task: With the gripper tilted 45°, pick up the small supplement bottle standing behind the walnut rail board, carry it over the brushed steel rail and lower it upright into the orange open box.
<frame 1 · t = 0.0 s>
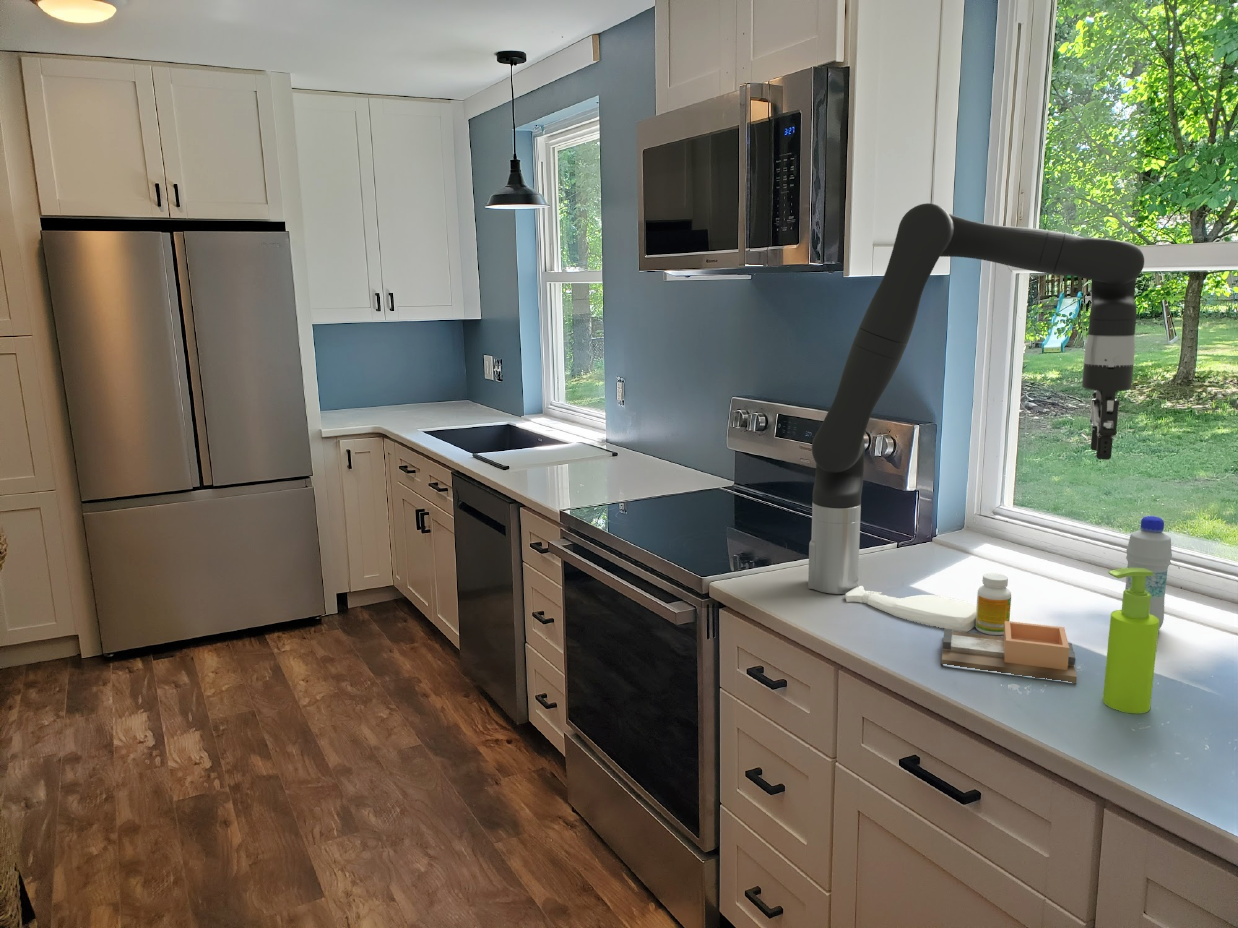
hand: (1100, 454, 157), 29 cm above the countertop, tool pointing down, fingers open, 8 cm apart
bottle: (1141, 629, 155), on the countertop
soap dispenser: (1122, 705, 127), on the countertop
rail board: (1005, 658, 143), on the countertop
supplement bottle: (991, 631, 155), on the countertop
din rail: (1006, 647, 143), on the rail board, point 1 cm above the countertop
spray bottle: (909, 613, 166), on the countertop
orange open box: (1034, 644, 141), on the rail board, point 3 cm above the countertop
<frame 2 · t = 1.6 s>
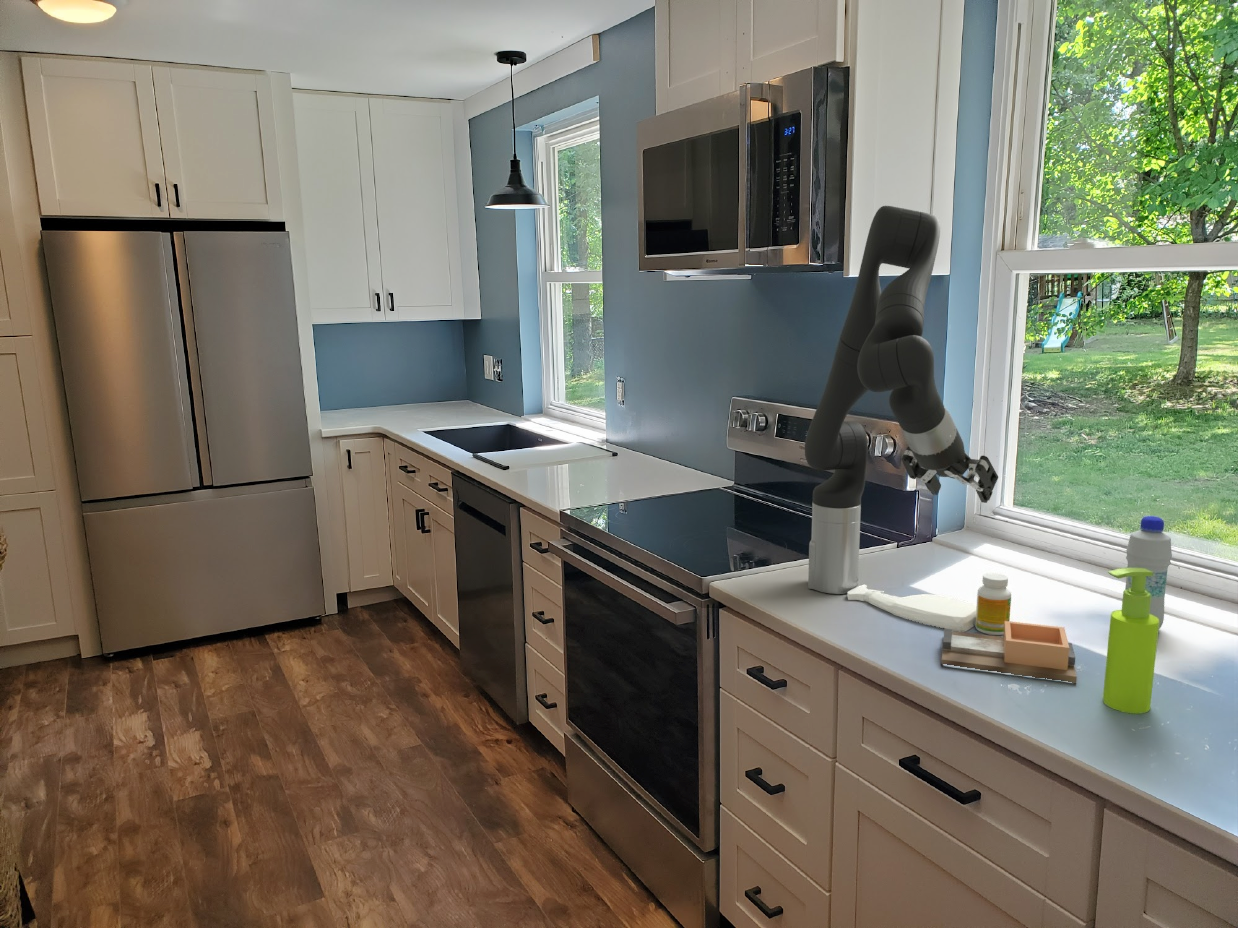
hand: (961, 494, 149), 25 cm above the countertop, tool tilted 45°, fingers open, 8 cm apart
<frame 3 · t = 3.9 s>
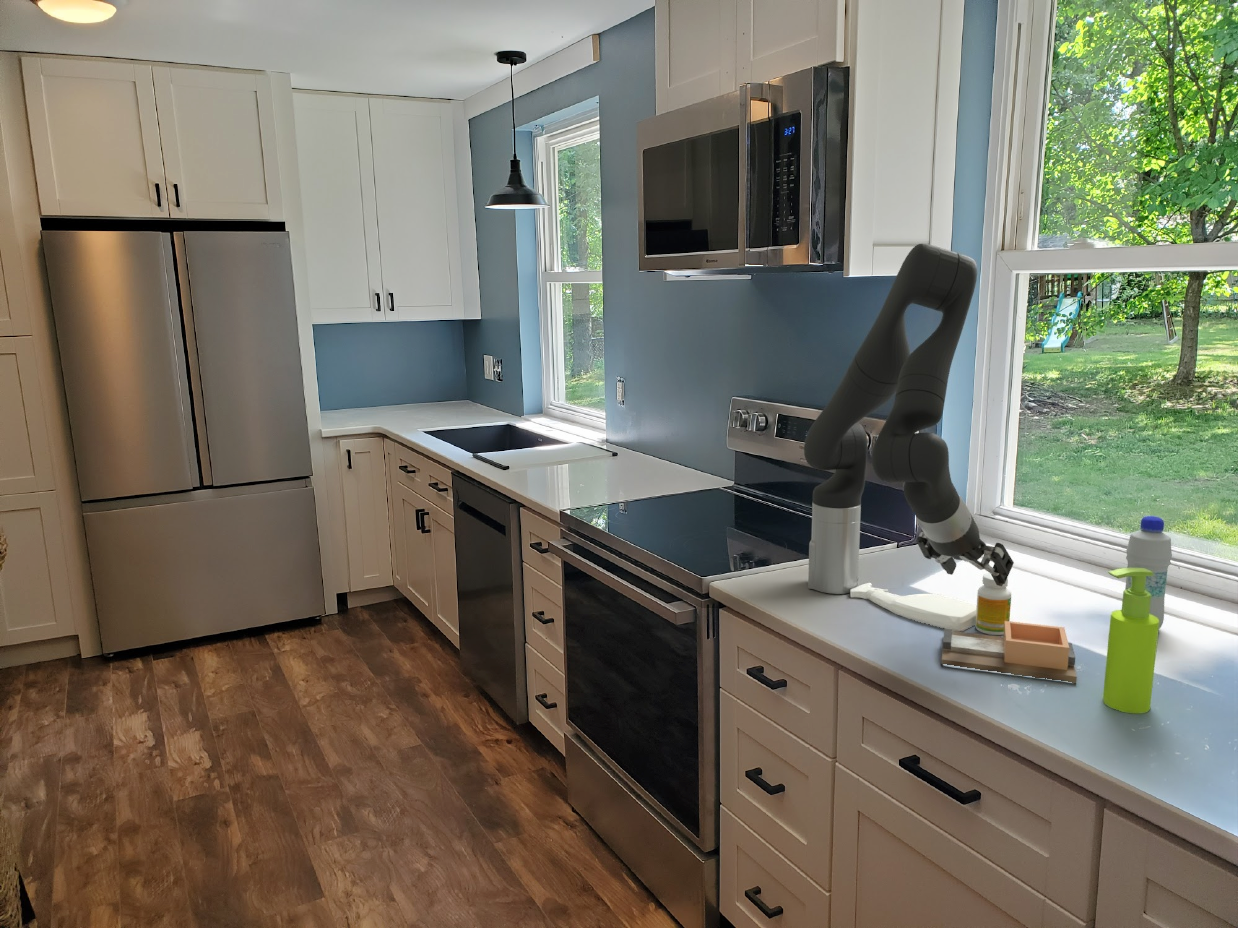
hand: (976, 575, 149), 11 cm above the countertop, tool tilted 45°, fingers open, 8 cm apart
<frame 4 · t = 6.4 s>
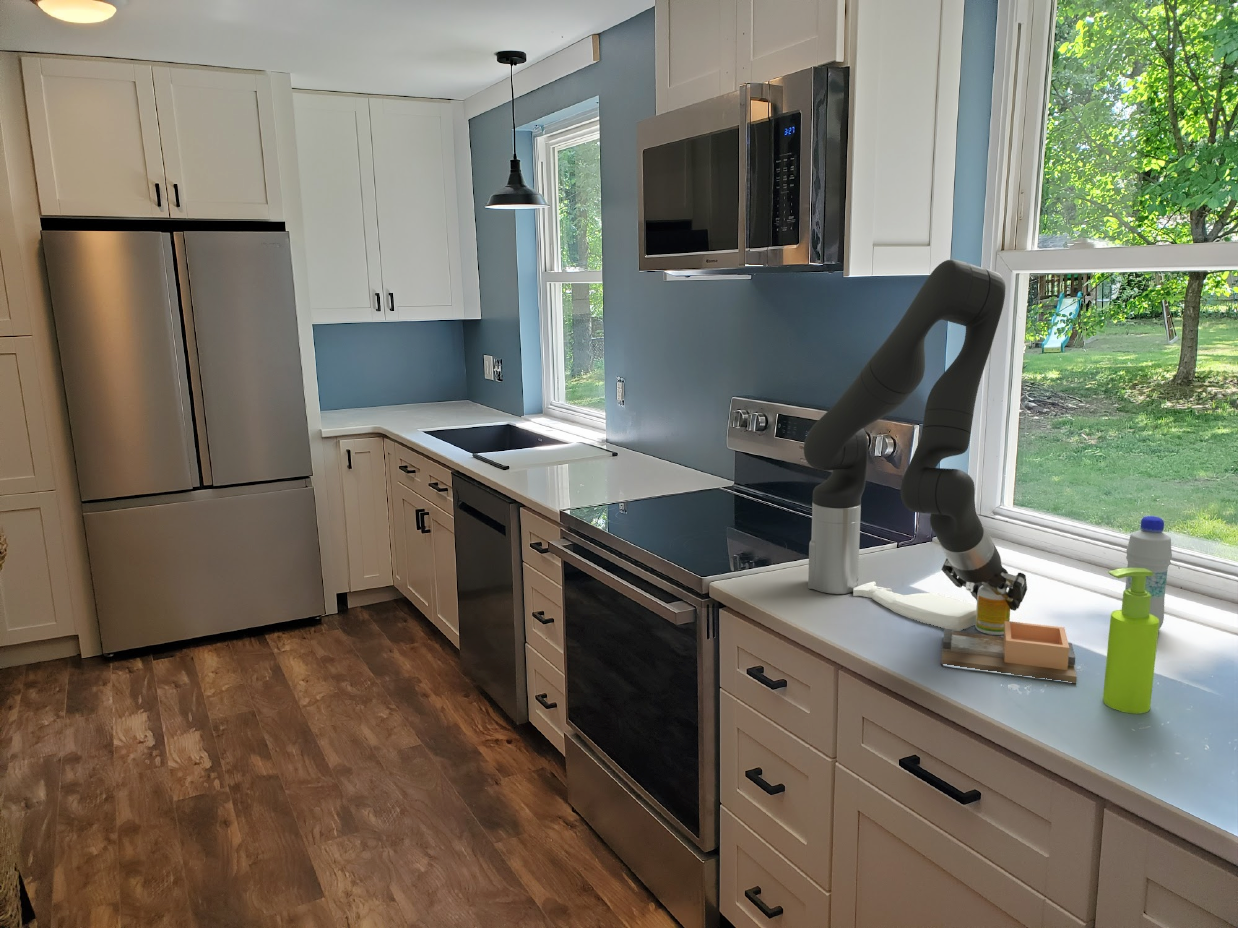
hand: (998, 601, 156), 5 cm above the countertop, tool tilted 45°, fingers closed on supplement bottle, 5 cm apart
supplement bottle: (991, 630, 155), on the countertop, touching gripper
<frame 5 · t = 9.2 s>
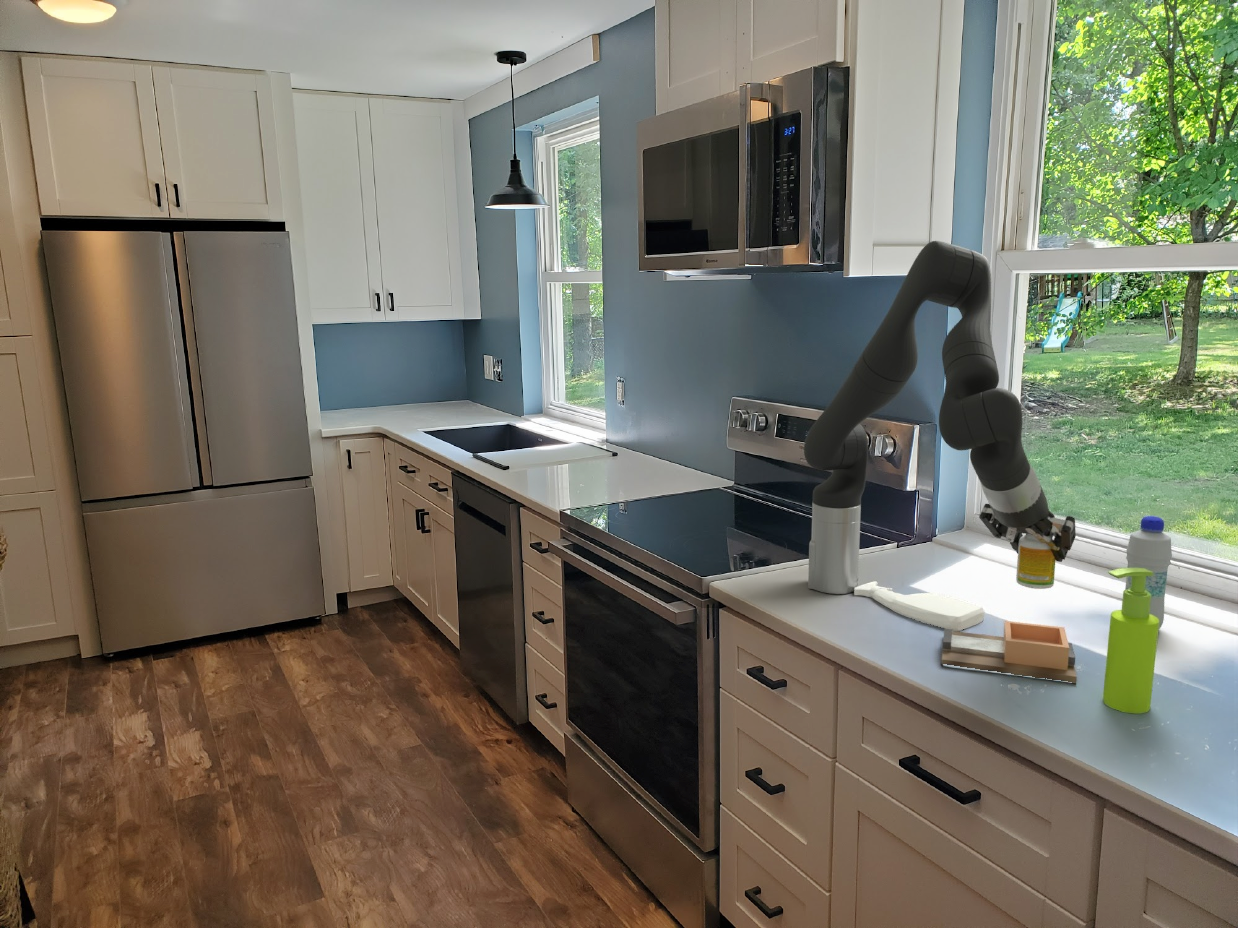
hand: (1041, 552, 142), 17 cm above the countertop, tool tilted 45°, fingers closed on supplement bottle, 5 cm apart
supplement bottle: (1034, 585, 141), point 12 cm above the countertop, touching gripper
when the fingers open (8 cm above the countertop, at t = 11.9 s): supplement bottle stays where it is, resting on orange open box.
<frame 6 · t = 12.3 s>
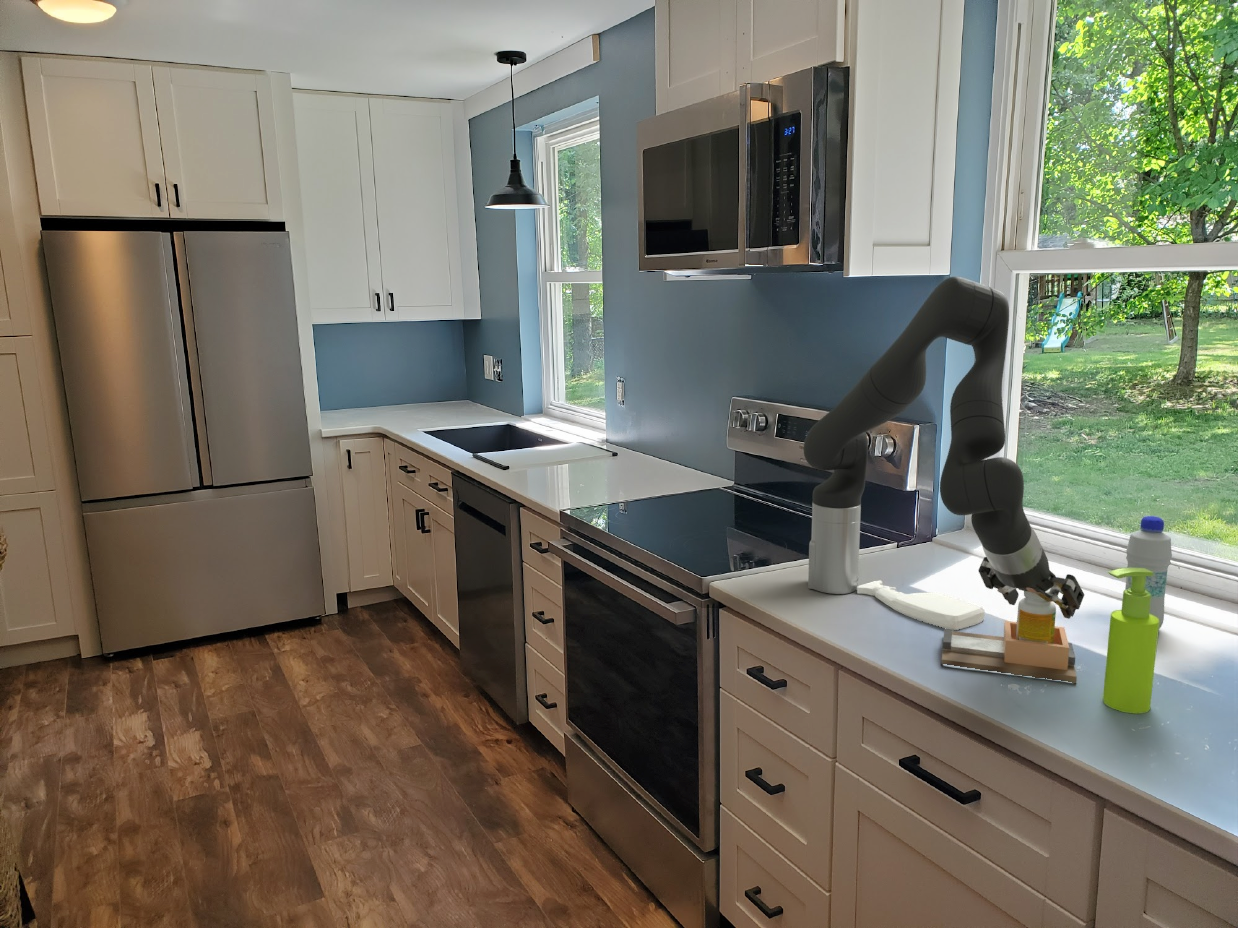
hand: (1041, 606, 141), 9 cm above the countertop, tool tilted 45°, fingers open, 8 cm apart
supplement bottle: (1033, 648, 141), point 2 cm above the countertop, touching orange open box
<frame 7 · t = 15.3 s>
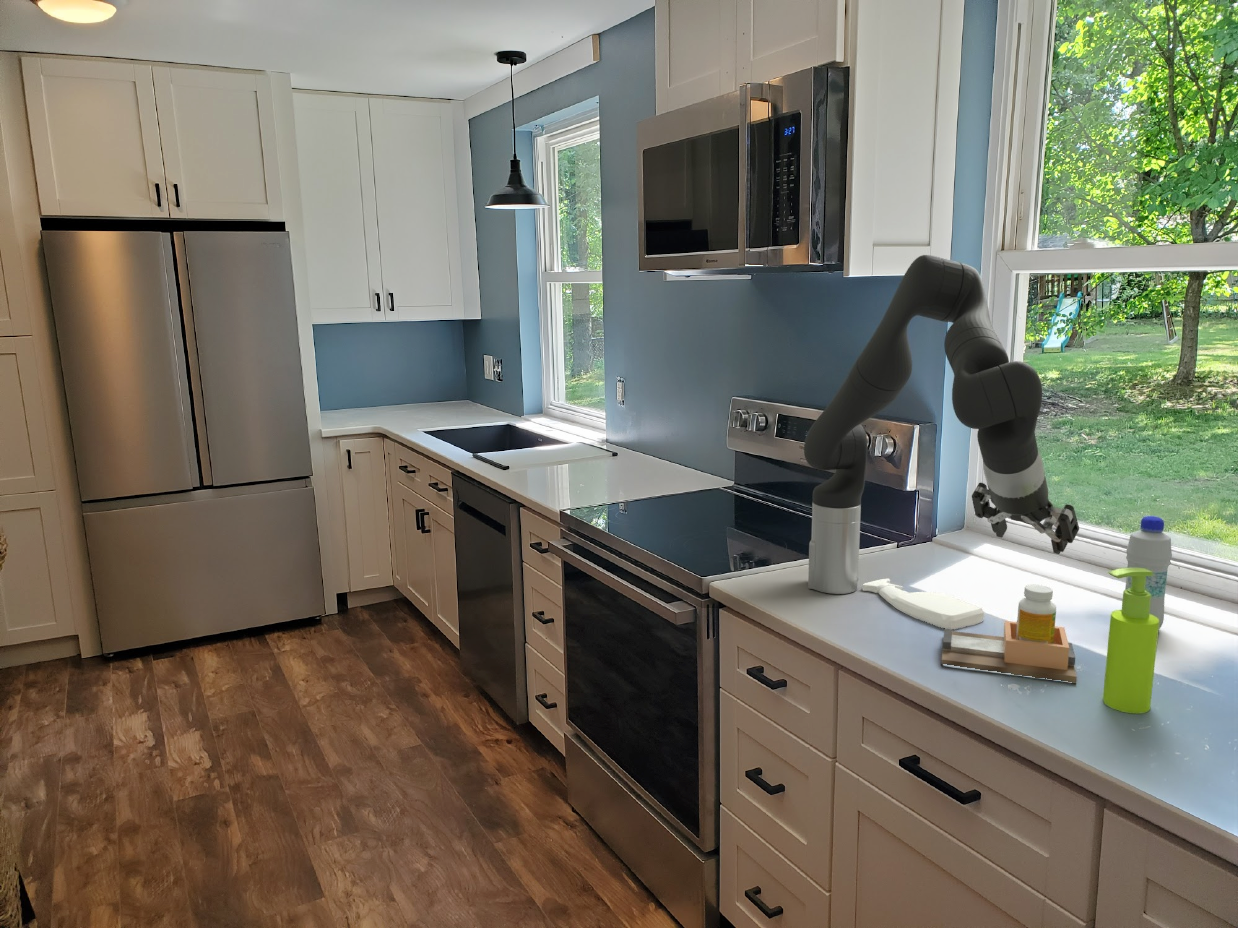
hand: (1030, 540, 135), 21 cm above the countertop, tool tilted 40°, fingers open, 8 cm apart
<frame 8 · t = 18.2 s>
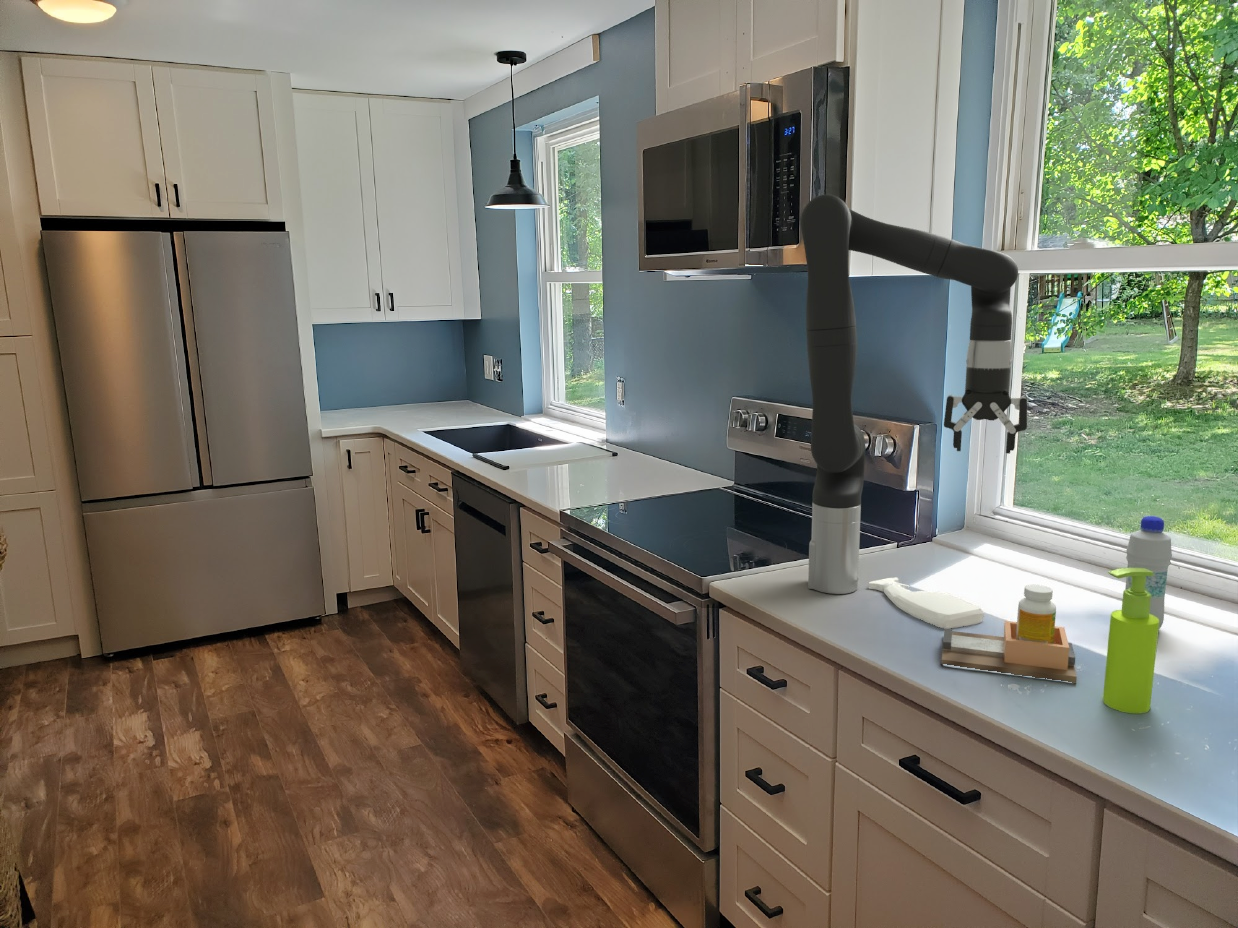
hand: (982, 451, 168), 28 cm above the countertop, tool pointing down, fingers open, 8 cm apart
at the end: supplement bottle 0.1 cm off-centre on the orange open box, point 2.4 cm above the orange open box's base; supplement bottle tilted 0°; the gripper is holding nothing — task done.
